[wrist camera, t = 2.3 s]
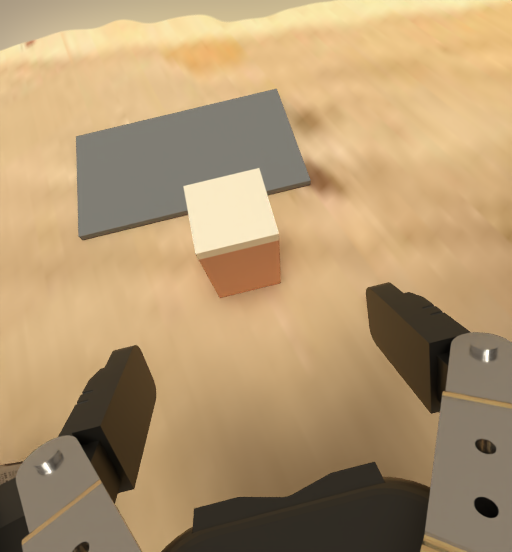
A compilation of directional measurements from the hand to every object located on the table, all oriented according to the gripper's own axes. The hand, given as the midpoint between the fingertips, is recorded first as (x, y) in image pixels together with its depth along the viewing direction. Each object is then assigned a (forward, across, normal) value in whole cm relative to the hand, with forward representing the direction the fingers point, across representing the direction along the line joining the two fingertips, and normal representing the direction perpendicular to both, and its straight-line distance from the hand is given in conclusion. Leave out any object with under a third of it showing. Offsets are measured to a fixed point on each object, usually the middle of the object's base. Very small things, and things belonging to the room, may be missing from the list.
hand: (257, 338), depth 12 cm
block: (+16, 0, +3) cm, 17 cm away
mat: (+25, +3, -6) cm, 26 cm away
